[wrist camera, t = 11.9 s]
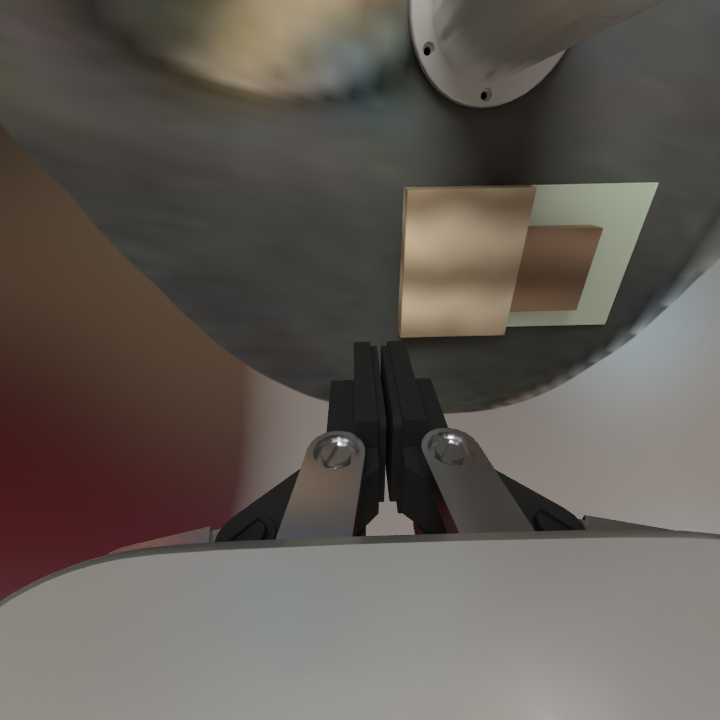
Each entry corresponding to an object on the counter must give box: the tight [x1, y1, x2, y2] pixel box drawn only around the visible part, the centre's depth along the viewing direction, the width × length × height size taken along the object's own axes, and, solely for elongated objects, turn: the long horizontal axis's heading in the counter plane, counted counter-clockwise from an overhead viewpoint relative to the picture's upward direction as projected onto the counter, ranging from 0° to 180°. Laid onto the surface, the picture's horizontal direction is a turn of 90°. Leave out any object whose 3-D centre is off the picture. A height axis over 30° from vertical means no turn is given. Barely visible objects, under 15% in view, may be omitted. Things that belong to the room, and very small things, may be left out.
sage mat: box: [506, 182, 659, 327], centre depth 35 cm, size 14×12×1 cm
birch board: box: [398, 185, 537, 338], centre depth 34 cm, size 14×11×2 cm
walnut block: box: [510, 225, 603, 312], centre depth 34 cm, size 8×7×2 cm
